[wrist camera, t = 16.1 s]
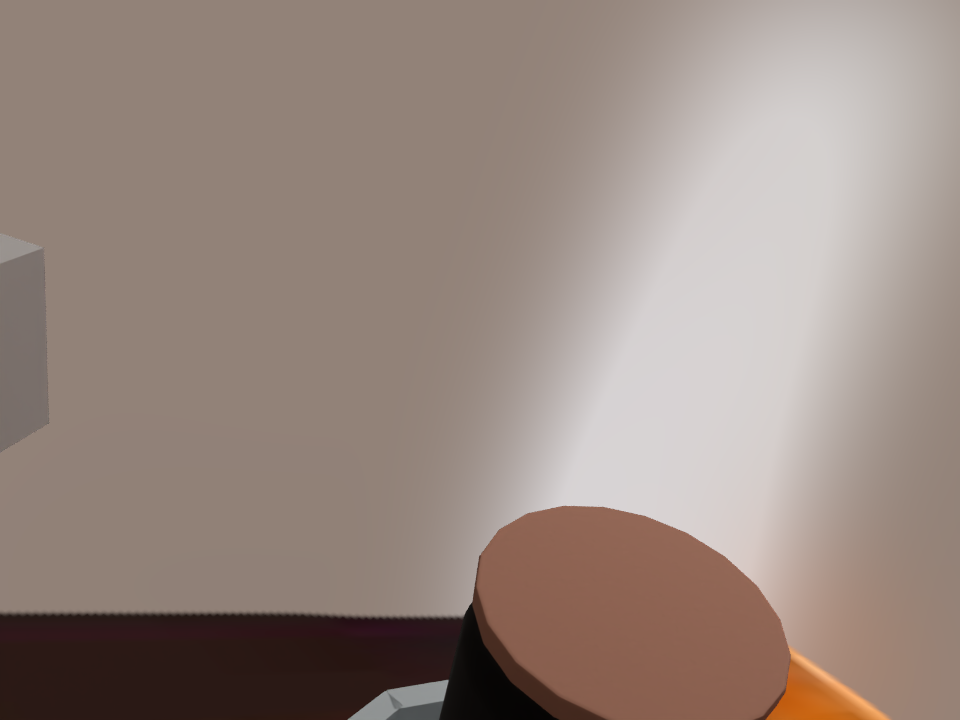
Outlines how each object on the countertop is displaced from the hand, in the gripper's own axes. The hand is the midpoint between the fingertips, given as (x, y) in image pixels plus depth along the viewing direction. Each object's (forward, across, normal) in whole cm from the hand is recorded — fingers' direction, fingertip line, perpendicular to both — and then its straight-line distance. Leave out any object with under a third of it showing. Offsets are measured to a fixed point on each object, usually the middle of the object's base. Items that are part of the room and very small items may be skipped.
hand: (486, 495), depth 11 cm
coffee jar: (+16, +3, -31) cm, 35 cm away
